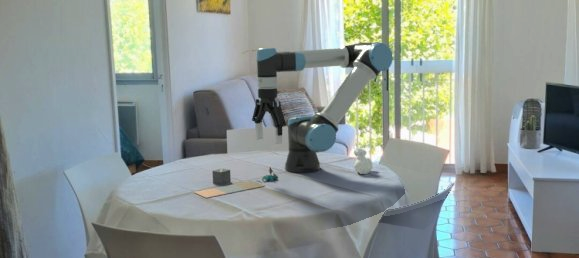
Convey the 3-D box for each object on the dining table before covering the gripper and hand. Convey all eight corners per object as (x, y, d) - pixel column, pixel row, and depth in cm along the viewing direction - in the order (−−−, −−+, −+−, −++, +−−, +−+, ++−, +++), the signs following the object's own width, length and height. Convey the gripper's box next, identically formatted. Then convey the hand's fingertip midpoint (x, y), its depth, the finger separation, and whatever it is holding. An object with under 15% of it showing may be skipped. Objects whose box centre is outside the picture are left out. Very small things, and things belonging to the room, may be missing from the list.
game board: (251, 181, 227) (251, 180, 227) (264, 186, 219) (264, 185, 219) (193, 192, 213) (193, 191, 213) (206, 198, 205) (206, 197, 205)
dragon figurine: (274, 182, 222) (280, 170, 229) (257, 175, 223) (263, 163, 229) (270, 194, 226) (276, 182, 233) (253, 187, 227) (260, 175, 233)
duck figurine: (368, 174, 244) (354, 152, 246) (381, 165, 240) (366, 143, 242) (355, 180, 234) (340, 157, 237) (368, 171, 230) (353, 148, 232)
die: (221, 180, 231) (221, 168, 230) (230, 182, 228) (230, 169, 227) (213, 182, 227) (212, 170, 226) (221, 184, 224) (221, 172, 223)
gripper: (242, 86, 229) (244, 138, 232) (277, 90, 209) (279, 146, 212) (258, 85, 233) (259, 136, 237) (294, 89, 213) (295, 144, 217)
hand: (269, 141), depth 224 cm, fingers open, 13 cm apart
